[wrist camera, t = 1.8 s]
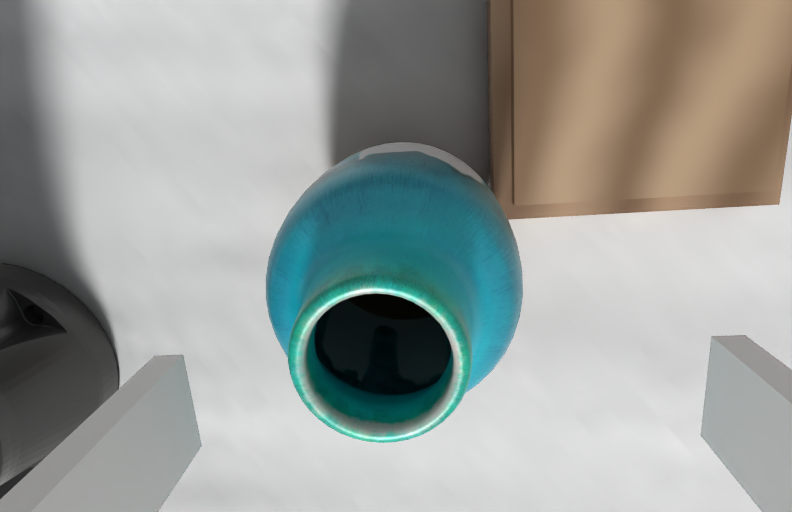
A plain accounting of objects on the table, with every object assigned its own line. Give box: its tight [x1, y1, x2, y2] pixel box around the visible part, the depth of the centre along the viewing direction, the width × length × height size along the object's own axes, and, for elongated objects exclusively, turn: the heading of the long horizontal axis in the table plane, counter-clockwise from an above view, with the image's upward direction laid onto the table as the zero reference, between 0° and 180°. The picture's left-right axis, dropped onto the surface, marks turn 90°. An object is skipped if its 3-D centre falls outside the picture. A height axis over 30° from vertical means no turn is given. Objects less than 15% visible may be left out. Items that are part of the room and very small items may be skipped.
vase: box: [266, 142, 523, 443], centre depth 24 cm, size 11×11×19 cm
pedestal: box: [487, 0, 792, 219], centre depth 29 cm, size 16×16×3 cm
